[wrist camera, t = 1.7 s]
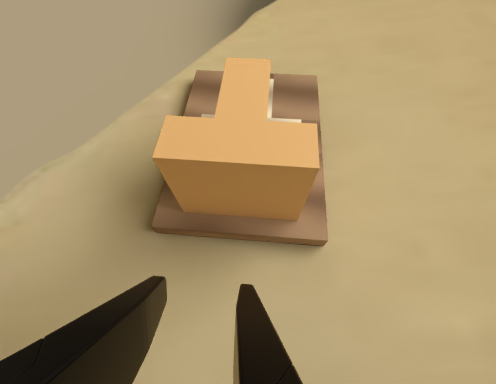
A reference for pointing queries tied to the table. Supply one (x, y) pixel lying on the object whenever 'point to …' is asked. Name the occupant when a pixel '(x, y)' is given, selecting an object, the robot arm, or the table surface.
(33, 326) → the table surface
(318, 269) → the table surface
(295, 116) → the board
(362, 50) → the table surface
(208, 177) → the t block
